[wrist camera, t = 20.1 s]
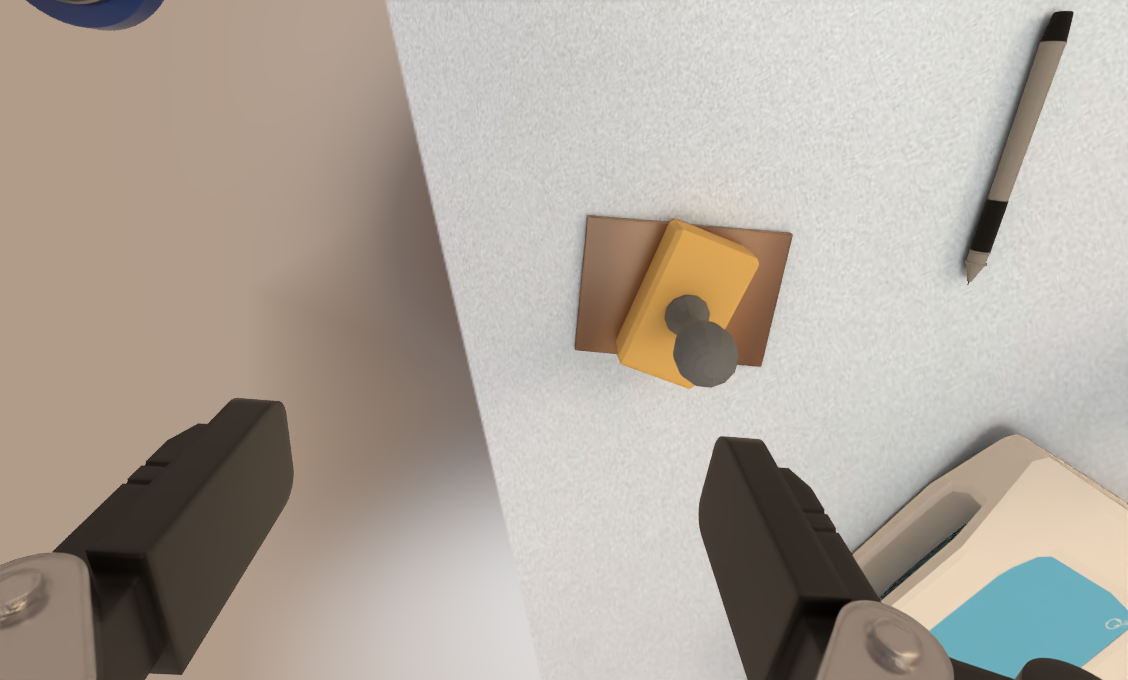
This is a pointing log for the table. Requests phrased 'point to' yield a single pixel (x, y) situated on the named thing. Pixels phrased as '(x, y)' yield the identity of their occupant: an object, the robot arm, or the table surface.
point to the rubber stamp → (687, 308)
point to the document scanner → (1012, 563)
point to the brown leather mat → (623, 261)
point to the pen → (1019, 139)
